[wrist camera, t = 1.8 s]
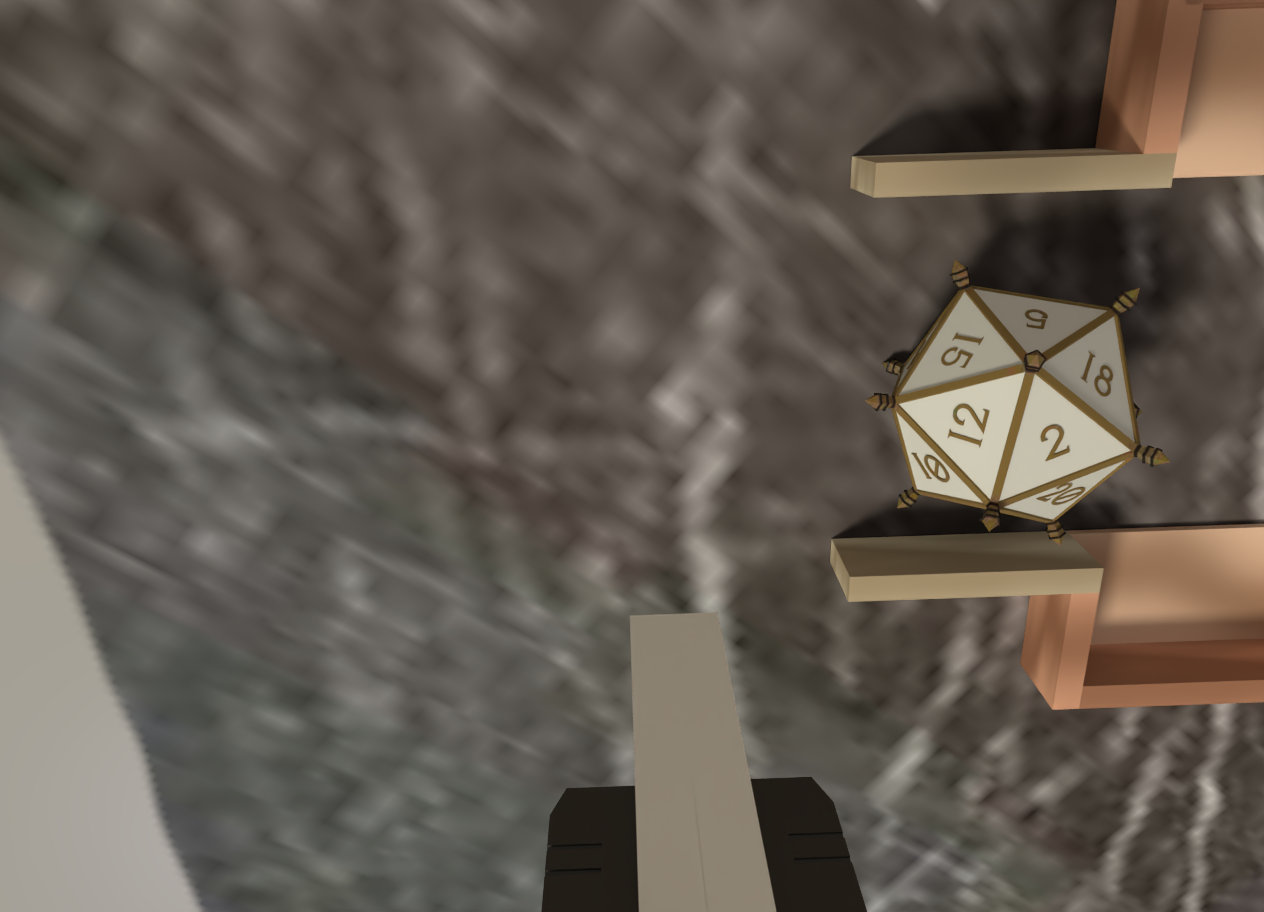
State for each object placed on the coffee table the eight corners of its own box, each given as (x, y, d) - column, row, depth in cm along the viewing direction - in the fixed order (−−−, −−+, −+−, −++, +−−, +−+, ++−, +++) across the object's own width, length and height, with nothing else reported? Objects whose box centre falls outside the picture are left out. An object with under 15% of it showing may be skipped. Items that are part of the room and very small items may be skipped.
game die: (982, 329, 37) (1261, 409, 29) (868, 511, 36) (1123, 636, 29) (899, 186, 30) (1228, 243, 23) (759, 404, 30) (1052, 530, 23)
